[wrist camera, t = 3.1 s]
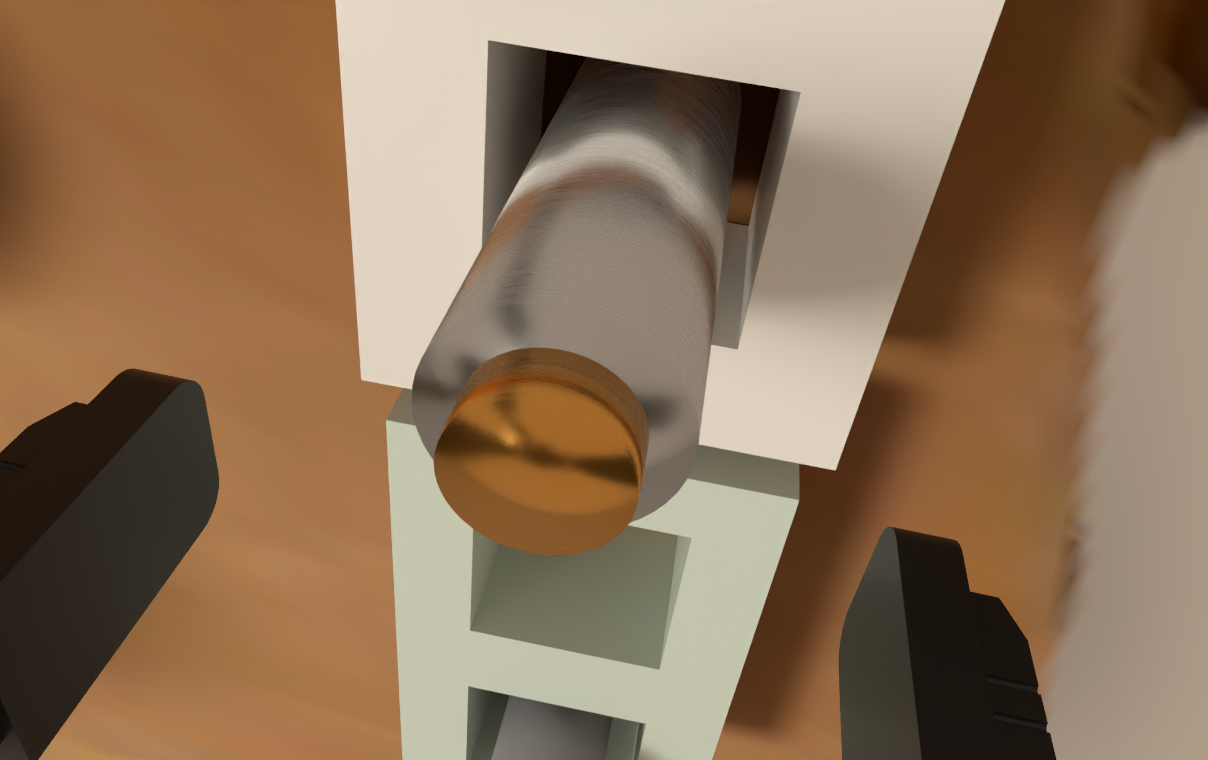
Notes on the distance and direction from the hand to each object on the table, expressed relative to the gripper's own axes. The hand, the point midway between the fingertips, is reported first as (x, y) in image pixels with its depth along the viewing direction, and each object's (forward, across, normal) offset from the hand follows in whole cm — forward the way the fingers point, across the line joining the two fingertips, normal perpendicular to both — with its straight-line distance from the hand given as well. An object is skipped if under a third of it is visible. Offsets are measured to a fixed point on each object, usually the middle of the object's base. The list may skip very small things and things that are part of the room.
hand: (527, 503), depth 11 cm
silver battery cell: (+12, 0, 0) cm, 12 cm away
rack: (+12, 0, +14) cm, 18 cm away
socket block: (+12, 0, 0) cm, 12 cm away
